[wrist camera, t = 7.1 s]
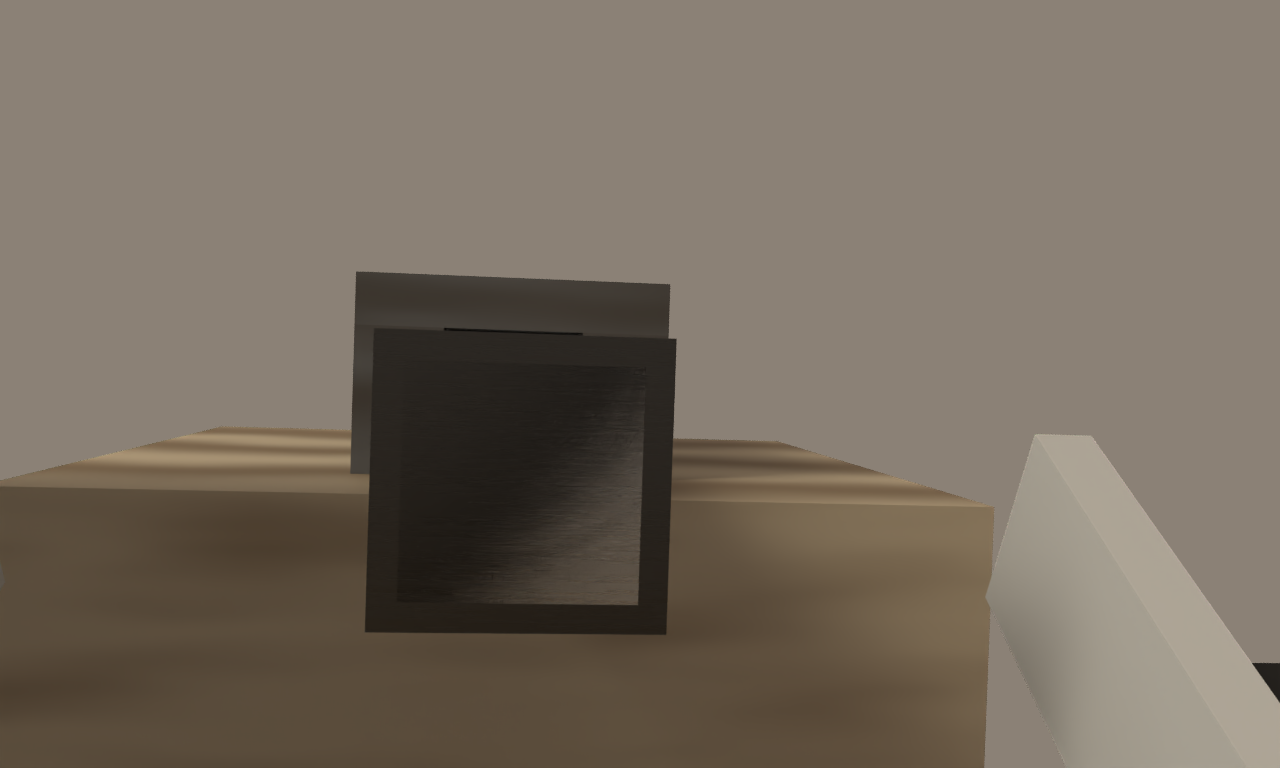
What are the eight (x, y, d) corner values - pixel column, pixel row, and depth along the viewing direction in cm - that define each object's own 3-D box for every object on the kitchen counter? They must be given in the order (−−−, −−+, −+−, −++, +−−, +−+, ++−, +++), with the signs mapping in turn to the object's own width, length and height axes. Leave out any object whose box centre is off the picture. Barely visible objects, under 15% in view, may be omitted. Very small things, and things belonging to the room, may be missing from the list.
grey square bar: (665, 634, 12) (676, 338, 12) (365, 632, 12) (374, 327, 12) (550, 438, 42) (553, 352, 42) (463, 436, 42) (465, 349, 42)
